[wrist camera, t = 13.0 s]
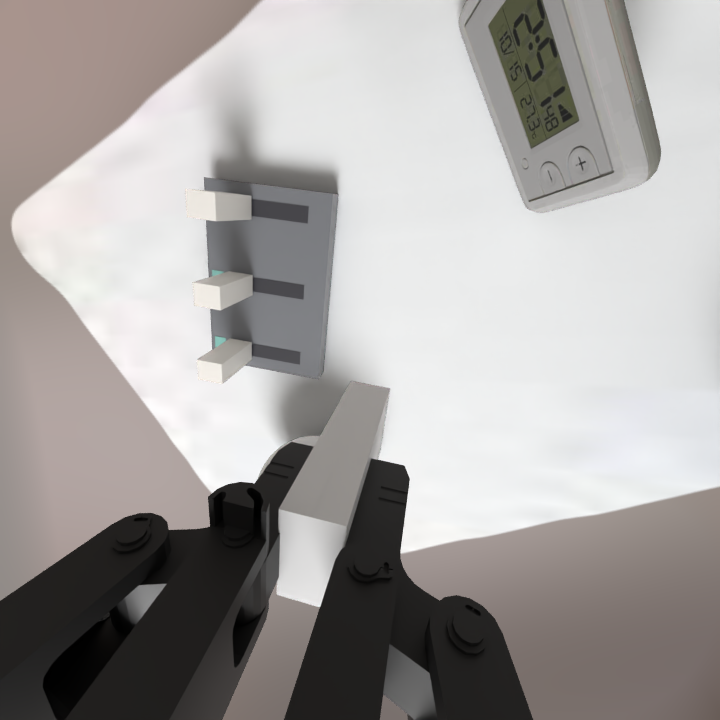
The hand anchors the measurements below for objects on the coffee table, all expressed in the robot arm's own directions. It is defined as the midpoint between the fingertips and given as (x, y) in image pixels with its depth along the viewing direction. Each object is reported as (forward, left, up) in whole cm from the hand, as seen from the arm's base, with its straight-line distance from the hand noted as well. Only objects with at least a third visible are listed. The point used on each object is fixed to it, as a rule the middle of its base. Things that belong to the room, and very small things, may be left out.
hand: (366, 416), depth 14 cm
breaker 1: (+16, -6, -21) cm, 27 cm away
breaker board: (+13, +1, -24) cm, 27 cm away
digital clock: (-7, -16, -24) cm, 30 cm away
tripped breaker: (+16, +1, -21) cm, 27 cm away
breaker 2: (+16, +8, -21) cm, 28 cm away
